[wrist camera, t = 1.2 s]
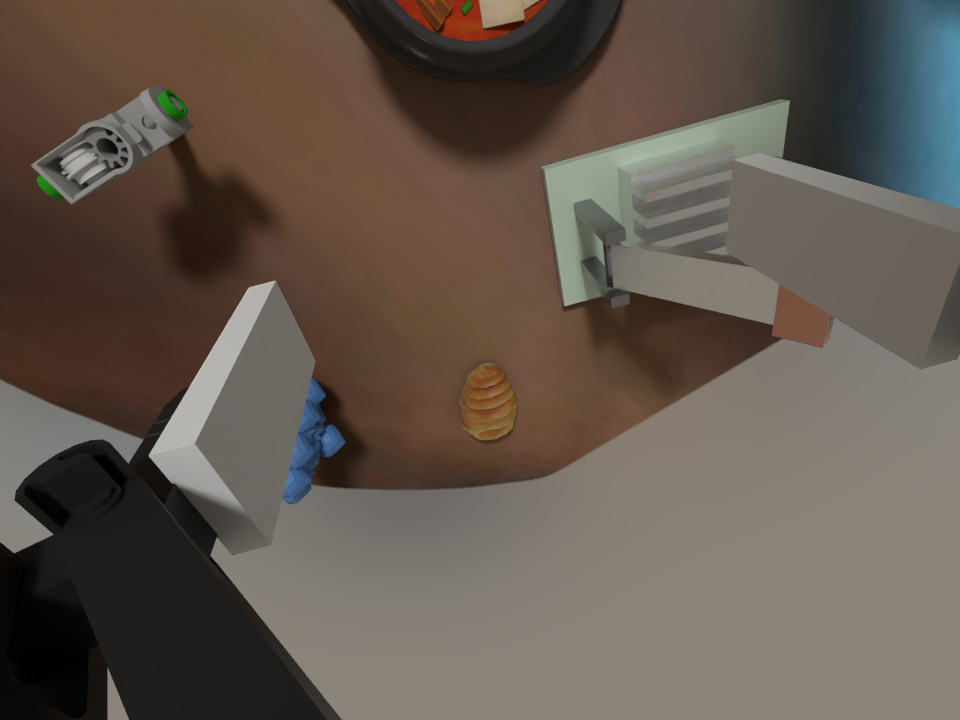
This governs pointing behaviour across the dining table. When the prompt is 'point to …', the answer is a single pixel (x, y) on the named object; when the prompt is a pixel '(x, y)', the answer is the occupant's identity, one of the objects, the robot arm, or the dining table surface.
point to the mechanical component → (113, 145)
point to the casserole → (489, 35)
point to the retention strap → (715, 288)
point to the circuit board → (600, 182)
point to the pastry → (487, 403)
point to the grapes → (310, 445)
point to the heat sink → (666, 207)
